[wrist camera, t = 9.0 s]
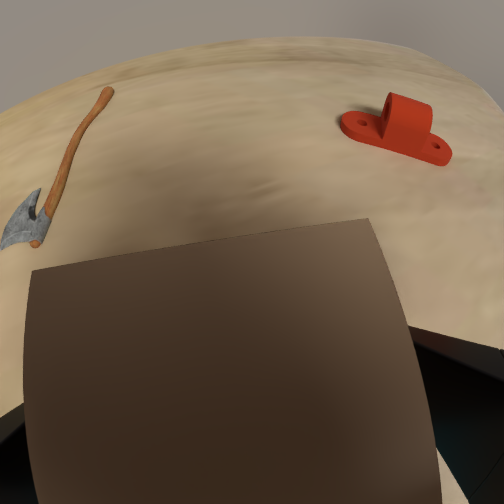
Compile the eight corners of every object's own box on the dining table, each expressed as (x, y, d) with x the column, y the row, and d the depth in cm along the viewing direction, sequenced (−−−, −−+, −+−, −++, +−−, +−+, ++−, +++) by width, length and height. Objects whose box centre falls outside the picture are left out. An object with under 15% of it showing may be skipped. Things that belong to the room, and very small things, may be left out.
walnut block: (303, 452, 13) (443, 552, 2) (207, 466, 13) (69, 586, 1) (286, 364, 15) (368, 218, 4) (193, 378, 15) (31, 270, 4)
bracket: (444, 147, 25) (461, 111, 21) (450, 172, 24) (472, 134, 19) (340, 116, 27) (349, 74, 23) (338, 138, 25) (348, 93, 21)
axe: (74, 102, 31) (71, 92, 30) (117, 94, 31) (114, 83, 30) (-2, 251, 20) (-12, 242, 19) (46, 252, 21) (36, 242, 19)
